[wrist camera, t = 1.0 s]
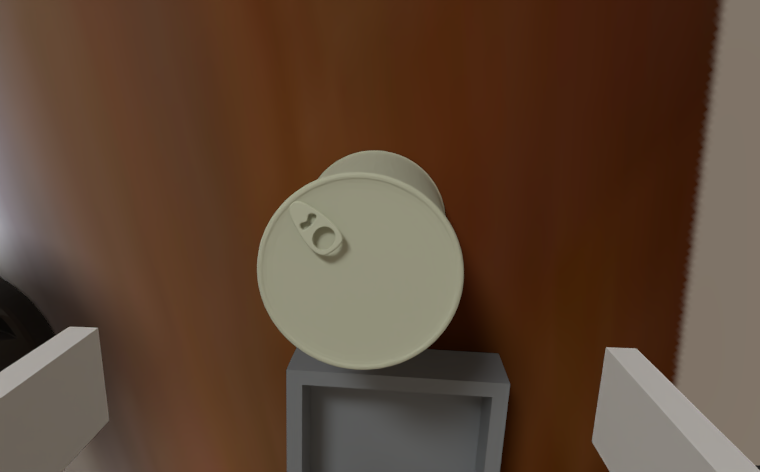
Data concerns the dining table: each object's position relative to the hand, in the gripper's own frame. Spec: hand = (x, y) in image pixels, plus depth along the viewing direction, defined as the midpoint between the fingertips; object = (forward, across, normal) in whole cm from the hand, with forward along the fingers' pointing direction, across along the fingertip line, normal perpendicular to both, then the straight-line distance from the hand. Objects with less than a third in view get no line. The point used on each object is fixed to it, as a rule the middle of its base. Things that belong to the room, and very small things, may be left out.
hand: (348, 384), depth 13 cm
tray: (+20, +2, -16) cm, 26 cm away
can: (+21, 0, 0) cm, 21 cm away
